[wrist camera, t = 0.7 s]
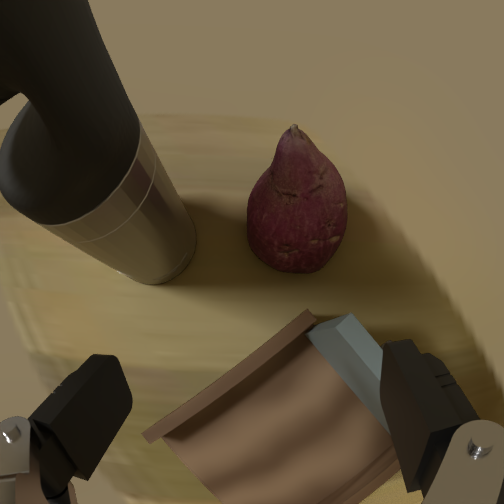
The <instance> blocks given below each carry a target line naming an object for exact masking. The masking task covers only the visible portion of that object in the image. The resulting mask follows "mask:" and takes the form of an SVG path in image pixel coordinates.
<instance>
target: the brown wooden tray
mask: <svg viewBox="0 0 504 504" xmlns="http://www.w3.org/2000/svg"><path fill="white" fill-rule="evenodd" d="M316 320H317V319H316V318H315V317H314V316H313V315H312V313H311V312H310V311H309V310H308V309H307V310H305V311H304V312H302V313H301V314H300V315H299V316H297V317H296V318H295V319H294V320H293V321H291V322H290V323H289V324H288V325H287V326H285V327H284V328H283V329H282V330H280V331H279V332H278V333H277V334H276V335H274V336H273V337H272V338H271V339H269V340H268V341H267V342H266V343H264V344H263V345H262V346H261V347H259V348H258V349H257V350H256V351H254V352H253V353H252V354H250V355H249V356H248V357H247V358H245V359H244V360H243V361H241V362H240V363H239V364H237V365H236V366H235V367H234V368H232V369H231V370H230V371H228V372H227V373H226V374H224V375H223V376H222V377H220V378H219V379H218V380H216V381H215V382H214V383H212V384H211V385H209V386H208V387H207V388H205V389H204V390H203V391H201V392H200V393H198V394H197V395H196V396H194V397H193V398H191V399H190V400H189V401H187V402H186V403H184V404H183V405H182V406H180V407H179V408H177V409H176V410H174V411H173V412H171V413H170V414H169V415H167V416H166V417H164V418H163V419H161V420H160V421H158V422H157V423H155V424H154V425H153V426H151V427H150V428H148V429H147V430H146V431H144V432H143V433H141V434H142V435H143V436H144V438H145V439H146V440H147V441H148V443H149V444H151V443H153V442H154V441H156V440H157V439H159V438H160V437H161V438H162V439H163V440H164V441H165V442H166V444H167V445H168V446H169V447H170V448H171V450H172V451H173V452H174V453H175V454H176V455H177V456H178V458H179V459H180V460H181V461H182V462H183V463H184V464H185V465H186V467H187V468H188V469H189V470H190V471H191V472H192V473H193V474H194V475H195V476H196V477H197V478H198V479H199V480H200V481H201V482H202V484H203V485H204V486H205V487H206V488H207V489H208V490H209V491H210V492H211V493H212V494H213V495H214V496H215V497H216V498H217V499H219V500H220V501H221V502H222V503H223V504H358V503H359V502H361V501H362V500H363V499H365V498H366V497H367V496H369V495H370V494H371V493H372V492H374V491H375V490H376V489H377V488H379V487H380V486H381V485H382V484H384V483H385V482H386V481H387V480H388V479H389V478H391V477H392V476H393V475H394V474H395V473H396V472H398V471H399V470H400V469H401V468H400V464H399V461H398V458H397V454H396V451H395V447H394V444H393V441H392V438H391V435H390V434H389V433H388V432H387V430H386V429H385V428H384V427H383V426H382V425H381V423H380V422H379V421H378V420H377V419H376V418H375V416H374V415H373V414H372V413H371V412H370V411H369V410H368V408H367V407H366V406H365V405H364V404H363V403H362V401H361V400H360V399H359V398H358V397H357V396H356V394H355V393H354V392H353V391H352V390H351V388H350V387H349V386H348V385H347V384H346V383H345V381H344V380H343V379H342V378H341V377H340V376H339V374H338V373H337V372H336V371H335V370H334V369H333V367H332V366H331V365H330V364H329V363H328V361H327V360H326V359H325V358H324V357H323V356H322V354H321V353H320V352H319V351H318V350H317V348H316V347H315V346H314V345H313V344H312V343H311V341H310V340H309V339H308V338H307V337H306V335H305V333H306V332H307V331H308V330H310V329H311V328H312V327H313V326H314V325H313V323H314V322H315V321H316Z"/></svg>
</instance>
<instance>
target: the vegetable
mask: <svg viewBox="0 0 504 504" xmlns="http://www.w3.org/2000/svg"><path fill="white" fill-rule="evenodd" d="M346 224H347V200H346V191H345V186H344V183H343V180H342V178H341V176H340V174H339V172H338V171H337V169H336V167H335V166H334V165H333V164H332V162H331V161H330V160H329V159H328V158H327V157H326V156H325V155H324V154H323V153H321V152H320V151H319V150H318V149H317V147H316V146H315V145H314V143H313V142H312V141H311V140H310V138H309V137H308V136H307V135H306V134H305V133H304V132H303V131H302V130H300V129H298V125H297V124H293V125H292V126H291V127H290V129H288V130H286V131H285V132H284V134H283V135H282V136H281V138H280V140H279V143H278V145H277V148H276V152H275V156H274V159H273V162H272V164H271V166H270V167H269V168H268V169H267V170H266V171H265V172H264V173H263V174H262V176H261V177H260V178H259V180H258V181H257V183H256V184H255V186H254V188H253V190H252V192H251V194H250V197H249V200H248V207H247V236H248V241H249V245H250V247H251V249H252V251H253V252H254V253H255V254H256V255H257V256H258V257H259V259H261V260H262V261H264V262H265V263H266V264H268V265H269V266H271V267H273V268H274V269H276V270H279V271H282V272H288V273H289V272H290V273H313V272H316V271H318V270H320V269H321V268H322V267H323V266H324V265H325V264H326V263H327V262H328V260H329V259H330V258H331V257H332V256H333V255H334V253H335V251H336V250H337V248H338V246H339V245H340V243H341V241H342V238H343V236H344V233H345V230H346Z"/></svg>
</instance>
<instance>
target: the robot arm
mask: <svg viewBox="0 0 504 504" xmlns="http://www.w3.org/2000/svg"><path fill="white" fill-rule="evenodd" d="M20 92H21V93H22V94H24V95H25V96H26V97H27V98H28V99H29V101H28V102H27V103H26V105H25V106H24V107H23V109H22V110H21V111H20V112H19V114H18V115H17V116H16V118H15V119H14V121H13V123H12V124H11V126H10V128H9V130H8V131H7V133H6V136H5V138H4V140H3V143H2V146H1V149H0V191H1V193H2V195H3V196H4V198H5V199H6V201H7V202H8V203H9V204H10V205H11V206H12V207H13V208H15V209H16V210H17V211H19V212H20V213H22V214H23V215H25V216H26V217H28V218H29V219H31V220H32V221H34V222H36V223H37V224H39V225H40V226H42V227H43V228H45V229H47V230H48V231H50V232H51V233H53V234H55V235H56V236H58V237H60V238H62V239H63V240H65V241H67V242H68V243H70V244H72V245H73V246H75V247H77V248H78V249H80V250H82V251H83V252H85V253H87V254H88V255H90V256H92V257H94V258H95V259H97V260H99V261H101V262H102V263H104V264H106V265H108V266H109V267H111V268H113V269H115V270H117V271H118V272H120V273H122V274H124V275H125V276H127V277H129V278H131V279H133V280H135V281H137V282H140V283H143V284H152V285H153V284H160V283H164V282H166V281H169V280H171V279H173V278H174V277H176V276H177V275H179V274H180V273H181V272H182V271H183V270H184V269H185V268H186V266H187V265H188V263H189V262H190V260H191V258H192V256H193V253H194V250H195V245H196V232H195V228H194V224H193V222H192V220H191V218H190V216H189V214H188V213H187V211H186V209H185V207H184V205H183V203H182V201H181V199H180V197H179V195H178V194H177V192H176V190H175V188H174V186H173V184H172V182H171V180H170V178H169V176H168V175H167V173H166V171H165V169H164V167H163V165H162V163H161V161H160V159H159V157H158V155H157V153H156V151H155V149H154V148H153V146H152V144H151V142H150V140H149V138H148V136H147V134H146V132H145V130H144V128H143V126H142V124H141V122H140V120H139V118H138V117H137V114H136V112H135V110H134V108H133V106H132V104H131V102H130V100H129V99H128V96H127V94H126V92H125V89H124V87H123V85H122V83H121V80H120V78H119V76H118V73H117V71H116V69H115V67H114V65H113V62H112V60H111V58H110V56H109V54H108V51H107V49H106V47H105V45H104V42H103V40H102V38H101V35H100V33H99V30H98V27H97V25H96V22H95V19H94V17H93V14H92V12H91V9H90V6H89V2H88V0H0V105H1V104H3V103H4V102H6V101H7V100H9V99H10V98H12V97H13V96H15V95H17V94H18V93H20ZM380 402H381V406H382V409H383V413H384V416H385V419H386V422H387V425H388V428H389V431H390V434H391V438H392V441H393V444H394V447H395V451H396V454H397V458H398V461H399V464H400V468H401V471H402V475H403V479H404V482H405V486H406V489H407V493H409V492H413V491H417V490H421V491H422V495H423V498H424V499H423V501H422V503H421V504H504V428H503V427H502V426H501V425H499V424H497V423H495V422H493V421H489V420H480V418H479V417H478V415H477V413H476V412H475V410H474V409H473V407H472V405H471V404H470V402H469V401H468V399H467V398H466V396H465V394H464V393H463V391H462V390H461V388H460V387H459V385H457V384H456V381H455V379H454V378H453V376H452V375H450V372H449V370H448V369H447V368H446V366H445V365H444V363H443V362H442V361H441V360H439V359H438V358H436V357H435V356H433V355H432V354H430V353H426V354H421V353H420V352H419V350H418V349H417V347H416V346H415V344H414V342H413V341H412V340H411V339H407V340H401V341H395V342H388V343H385V344H384V347H383V357H382V368H381V378H380ZM131 409H132V394H131V391H130V389H129V386H128V384H127V381H126V378H125V376H124V373H123V371H122V368H121V365H120V362H119V360H118V359H117V357H116V356H114V355H101V354H93V355H91V356H90V357H89V358H88V359H87V360H86V361H85V362H84V363H83V364H82V365H81V366H80V367H79V369H78V370H76V371H75V372H73V373H71V374H70V375H68V376H67V377H66V379H65V380H64V381H63V382H62V383H61V384H60V386H58V387H57V388H56V389H55V390H54V391H53V393H51V394H50V395H49V396H48V397H47V398H46V400H45V401H44V402H43V403H42V404H41V405H40V406H39V407H38V408H37V409H36V410H35V411H34V412H33V413H32V415H31V416H30V417H29V418H28V419H26V418H24V417H19V416H15V417H11V418H7V419H5V420H3V421H2V422H0V504H77V499H76V494H75V489H74V486H73V484H72V483H71V481H70V480H71V478H72V477H73V476H75V477H78V478H80V479H84V480H87V481H88V480H89V478H90V477H91V475H92V473H93V472H94V470H95V468H96V467H97V465H98V464H99V462H100V460H101V459H102V457H103V455H104V454H105V452H106V450H107V449H108V447H109V445H110V444H111V442H112V440H113V439H114V437H115V436H116V434H117V432H118V431H119V429H120V427H121V426H122V424H123V423H124V421H125V419H126V418H127V416H128V414H129V413H130V411H131Z"/></svg>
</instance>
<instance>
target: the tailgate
mask: <svg viewBox="0 0 504 504" xmlns="http://www.w3.org/2000/svg"><path fill="white" fill-rule="evenodd" d="M305 335H306V337H307V338H308V339H309V340H310V341H311V343H312V344H313V345H314V346H315V347H316V348H317V350H318V351H319V352H320V353H321V354H322V356H323V357H324V358H325V359H326V360H327V361H328V363H329V364H330V365H331V366H332V367H333V369H334V370H335V371H336V372H337V373H338V374H339V376H340V377H341V378H342V379H343V380H344V381H345V383H346V384H347V385H348V386H349V387H350V388H351V390H352V391H353V392H354V393H355V394H356V396H357V397H358V398H359V399H360V400H361V401H362V403H363V404H364V405H365V406H366V407H367V408H368V410H369V411H370V412H371V413H372V414H373V415H374V416H375V418H376V419H377V420H378V421H379V422H380V423H381V425H382V426H383V427H384V428H385V429H386V430H387V432H388V433H389V434H390V431H389V428H388V425H387V422H386V419H385V416H384V413H383V409H382V406H381V402H380V378H381V368H382V357H383V347H384V344H385V343H388V342H392V341H391V340H389V341H387V342H385V343H384V344H383V345H382V346H379V345H378V344H377V343H376V341H375V340H374V339H373V338H372V337H371V335H370V334H369V333H368V332H367V330H366V329H365V328H364V327H363V326H362V324H361V323H360V322H359V321H358V320H357V318H356V317H355V316H354V315H353V314H352V312H351V313H349V314H346V315H343V316H340V317H337V318H335V319H332V320H329V321H326V322H323V323H320V324H317V325H314V326H313V327H312V328H311V329H310V330H308V331H307V332H306V333H305ZM390 435H391V434H390Z"/></svg>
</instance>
